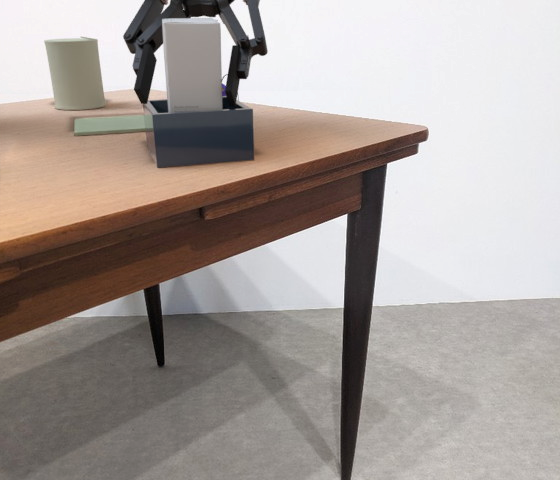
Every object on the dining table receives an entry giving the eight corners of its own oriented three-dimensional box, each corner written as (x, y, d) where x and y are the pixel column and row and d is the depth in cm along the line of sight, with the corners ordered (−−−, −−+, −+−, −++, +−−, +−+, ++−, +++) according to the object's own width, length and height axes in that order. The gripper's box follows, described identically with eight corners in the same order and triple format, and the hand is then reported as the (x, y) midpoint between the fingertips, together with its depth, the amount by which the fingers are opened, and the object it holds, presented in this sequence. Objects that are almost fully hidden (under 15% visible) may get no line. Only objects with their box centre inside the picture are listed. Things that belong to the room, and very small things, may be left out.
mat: (74, 122, 97) (74, 118, 97) (150, 117, 100) (149, 114, 100) (74, 136, 87) (74, 132, 87) (158, 130, 90) (158, 127, 90)
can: (110, 107, 110) (102, 37, 105) (58, 111, 107) (46, 38, 102) (101, 101, 118) (92, 35, 113) (51, 104, 114) (40, 36, 109)
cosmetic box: (170, 147, 79) (159, 18, 73) (220, 145, 80) (214, 17, 74) (172, 162, 72) (160, 19, 65) (228, 159, 73) (221, 19, 66)
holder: (147, 147, 80) (142, 100, 77) (232, 141, 83) (230, 95, 80) (157, 167, 70) (152, 114, 67) (254, 160, 73) (252, 108, 70)
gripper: (301, -22, 80) (284, 119, 73) (138, -22, 83) (105, 114, 76) (297, -73, 73) (277, 78, 66) (118, -70, 76) (80, 74, 69)
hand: (185, 97), depth 71 cm, fingers open, 10 cm apart
